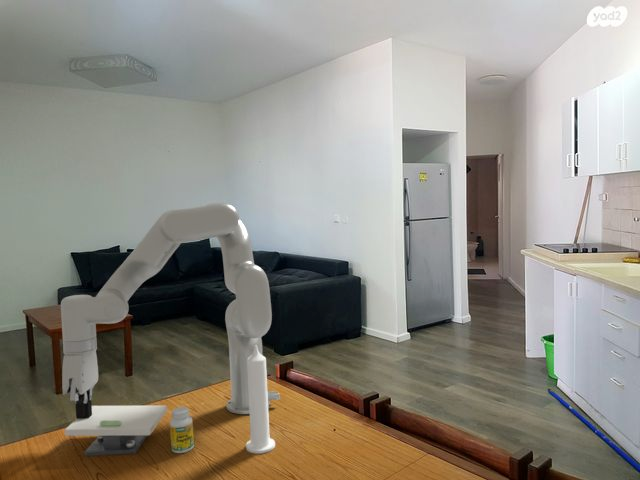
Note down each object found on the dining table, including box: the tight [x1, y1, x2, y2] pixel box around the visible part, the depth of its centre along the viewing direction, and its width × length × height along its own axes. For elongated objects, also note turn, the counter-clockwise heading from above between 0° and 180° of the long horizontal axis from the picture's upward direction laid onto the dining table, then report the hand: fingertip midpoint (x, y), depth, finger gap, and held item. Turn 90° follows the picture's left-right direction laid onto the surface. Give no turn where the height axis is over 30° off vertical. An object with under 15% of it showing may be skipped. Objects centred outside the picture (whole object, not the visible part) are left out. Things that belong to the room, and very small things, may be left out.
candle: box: [245, 345, 276, 455], centre depth 118 cm, size 7×7×25 cm
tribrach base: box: [84, 435, 149, 457], centre depth 124 cm, size 12×13×4 cm
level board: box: [64, 404, 168, 437], centre depth 124 cm, size 20×14×3 cm
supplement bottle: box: [169, 406, 195, 454], centre depth 119 cm, size 5×5×10 cm
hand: (84, 416), depth 124 cm, fingers closed
